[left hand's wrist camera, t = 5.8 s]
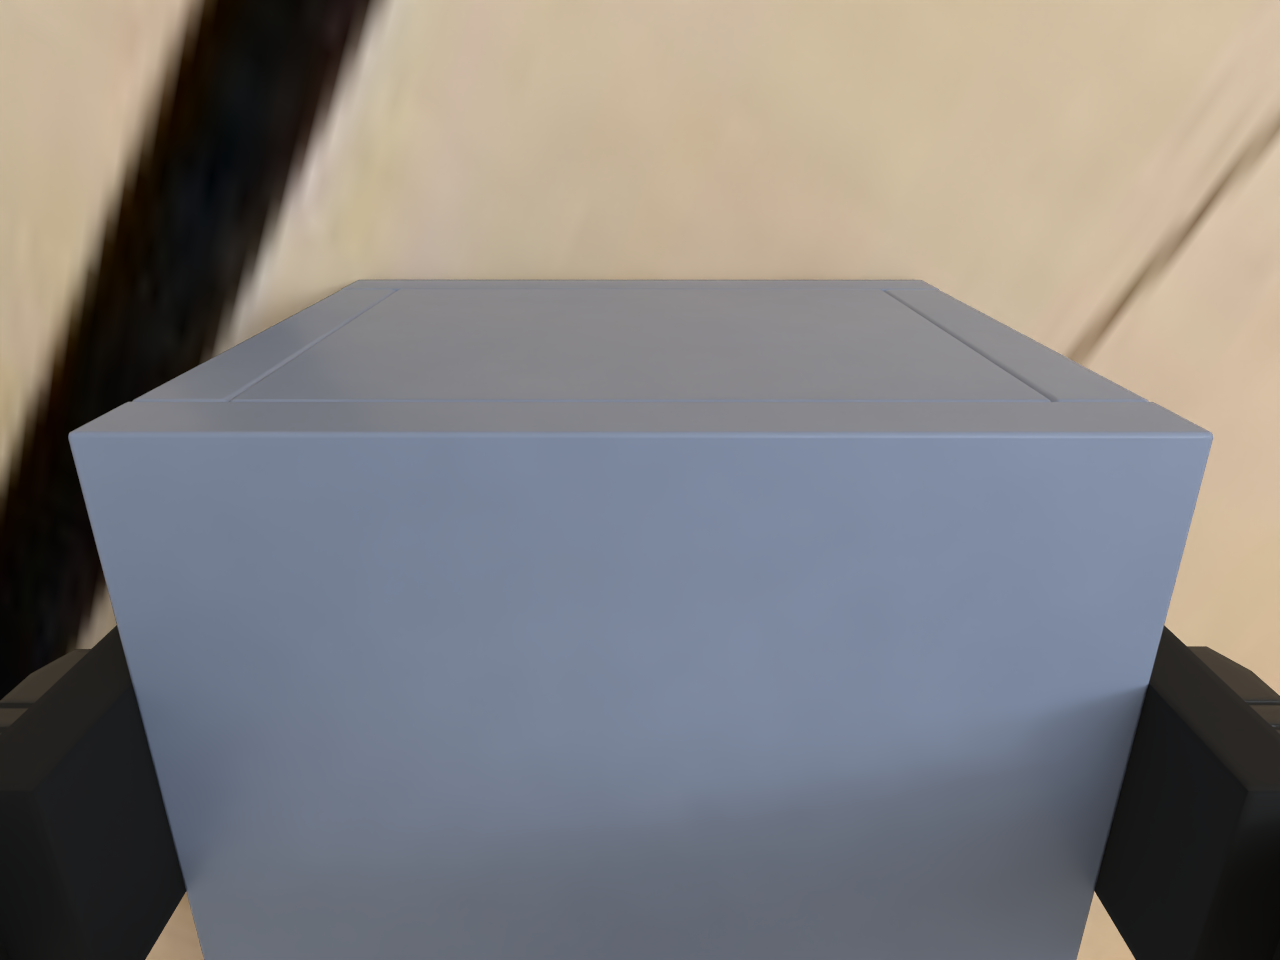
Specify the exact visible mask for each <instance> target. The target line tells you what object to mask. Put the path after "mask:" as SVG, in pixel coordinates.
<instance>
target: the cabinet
mask: <svg viewBox="0 0 1280 960" xmlns="http://www.w3.org/2000/svg"><path fill="white" fill-rule="evenodd" d="M68 438H69V442H70V446H71V450H72V454H73V458H74V461H75V465H76V469H77V473H78V477H79V481H80V485H81V488H82V492H83V496H84V500H85V504H86V508H87V511H88V515H89V519H90V523H91V527H92V531H93V534H94V538H95V542H96V546H97V550H98V554H99V557H100V561H101V565H102V569H103V573H104V577H105V580H106V584H107V588H108V592H109V596H110V600H111V604H112V607H113V611H114V615H115V619H116V623H117V627H118V630H119V634H120V638H121V642H122V646H123V650H124V653H125V657H126V661H127V665H128V669H129V673H130V676H131V680H132V684H133V688H134V692H135V696H136V699H137V703H138V707H139V711H140V715H141V719H142V723H143V726H144V730H145V734H146V738H147V742H148V746H149V749H150V753H151V757H152V761H153V765H154V769H155V772H156V776H157V780H158V784H159V788H160V792H161V795H162V799H163V803H164V807H165V811H166V815H167V819H168V822H169V826H170V830H171V834H172V838H173V842H174V845H175V849H176V853H177V857H178V861H179V865H180V868H181V872H182V876H183V880H184V884H185V888H186V891H187V895H188V899H189V903H190V907H191V911H192V914H193V918H194V922H195V926H196V930H197V934H198V938H199V941H200V945H201V949H202V953H203V957H204V960H1076V959H1077V955H1078V952H1079V948H1080V944H1081V940H1082V936H1083V932H1084V929H1085V925H1086V921H1087V917H1088V913H1089V910H1090V906H1091V902H1092V898H1093V894H1094V890H1095V887H1096V883H1097V879H1098V875H1099V871H1100V868H1101V864H1102V860H1103V856H1104V852H1105V848H1106V845H1107V841H1108V837H1109V833H1110V829H1111V826H1112V822H1113V818H1114V814H1115V810H1116V806H1117V803H1118V799H1119V795H1120V791H1121V787H1122V784H1123V780H1124V776H1125V772H1126V768H1127V764H1128V761H1129V757H1130V753H1131V749H1132V745H1133V742H1134V738H1135V734H1136V730H1137V726H1138V722H1139V719H1140V715H1141V711H1142V707H1143V703H1144V700H1145V696H1146V692H1147V688H1148V684H1149V680H1150V677H1151V673H1152V669H1153V665H1154V661H1155V658H1156V654H1157V650H1158V646H1159V642H1160V638H1161V635H1162V631H1163V627H1164V623H1165V619H1166V616H1167V612H1168V608H1169V604H1170V600H1171V596H1172V593H1173V589H1174V585H1175V581H1176V577H1177V574H1178V570H1179V566H1180V562H1181V558H1182V554H1183V551H1184V547H1185V543H1186V539H1187V535H1188V532H1189V528H1190V524H1191V520H1192V516H1193V512H1194V509H1195V505H1196V501H1197V497H1198V493H1199V490H1200V486H1201V482H1202V478H1203V474H1204V470H1205V467H1206V463H1207V459H1208V455H1209V451H1210V448H1211V444H1212V440H1213V435H1212V433H1211V432H1209V431H1207V430H1205V429H1203V428H1202V427H1200V426H1198V425H1196V424H1194V423H1192V422H1190V421H1188V420H1186V419H1184V418H1183V417H1181V416H1179V415H1177V414H1175V413H1173V412H1171V411H1169V410H1167V409H1165V408H1164V407H1162V406H1160V405H1158V404H1156V403H1154V402H1148V400H1146V399H1144V398H1142V397H1140V396H1139V395H1137V394H1135V393H1133V392H1131V391H1129V390H1127V389H1125V388H1123V387H1121V386H1120V385H1118V384H1116V383H1114V382H1112V381H1110V380H1108V379H1106V378H1104V377H1103V376H1101V375H1099V374H1097V373H1095V372H1093V371H1091V370H1089V369H1087V368H1086V367H1084V366H1082V365H1080V364H1078V363H1076V362H1074V361H1072V360H1070V359H1069V358H1067V357H1065V356H1063V355H1061V354H1059V353H1057V352H1055V351H1053V350H1051V349H1050V348H1048V347H1046V346H1044V345H1042V344H1040V343H1038V342H1036V341H1034V340H1033V339H1031V338H1029V337H1027V336H1025V335H1023V334H1021V333H1019V332H1017V331H1016V330H1014V329H1012V328H1010V327H1008V326H1006V325H1004V324H1002V323H1000V322H999V321H997V320H995V319H993V318H991V317H989V316H987V315H985V314H983V313H982V312H980V311H978V310H976V309H974V308H972V307H970V306H968V305H966V304H964V303H963V302H961V301H959V300H957V299H955V298H953V297H951V296H949V295H947V294H946V293H944V292H942V291H940V290H939V289H937V288H935V287H934V286H932V285H930V284H928V283H926V282H924V281H922V280H358V281H356V282H354V283H352V284H350V285H348V286H346V287H345V288H343V289H341V290H340V291H338V292H336V293H334V294H332V295H331V296H329V297H327V298H325V299H323V300H321V301H319V302H317V303H316V304H314V305H312V306H310V307H308V308H306V309H304V310H302V311H300V312H299V313H297V314H295V315H293V316H291V317H289V318H287V319H285V320H283V321H282V322H280V323H278V324H276V325H274V326H272V327H270V328H268V329H266V330H265V331H263V332H261V333H259V334H257V335H255V336H253V337H251V338H250V339H248V340H246V341H244V342H242V343H240V344H238V345H236V346H234V347H233V348H231V349H229V350H227V351H225V352H223V353H221V354H219V355H217V356H216V357H214V358H212V359H210V360H208V361H206V362H204V363H202V364H201V365H199V366H197V367H195V368H193V369H191V370H189V371H187V372H185V373H184V374H182V375H180V376H178V377H176V378H174V379H172V380H170V381H168V382H167V383H165V384H163V385H161V386H159V387H157V388H155V389H153V390H152V391H150V392H148V393H146V394H144V395H142V396H140V397H138V398H136V399H135V400H133V401H132V402H127V403H125V404H123V405H121V406H119V407H117V408H115V409H113V410H112V411H110V412H108V413H106V414H104V415H102V416H100V417H98V418H96V419H95V420H93V421H91V422H89V423H87V424H85V425H83V426H81V427H79V428H77V429H76V430H74V431H72V432H70V433H69V437H68Z"/></svg>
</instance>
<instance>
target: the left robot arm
mask: <svg viewBox="0 0 1280 960" xmlns="http://www.w3.org/2000/svg"><path fill="white" fill-rule="evenodd" d="M1094 891H1095V892H1096V894H1097V896H1098V897H1099V899H1100V901H1101V902H1102V904H1103V906H1104V907H1105V909H1106V911H1107V912H1108V914H1109V916H1110V917H1111V919H1112V921H1113V922H1114V924H1115V926H1116V927H1117V929H1118V931H1119V932H1120V934H1121V936H1122V937H1123V939H1124V941H1125V942H1126V944H1127V946H1128V947H1129V949H1130V951H1131V952H1132V954H1133V956H1134V957H1135V959H1136V960H1280V696H1279V695H1278V694H1277V693H1276V692H1275V691H1274V690H1272V689H1271V688H1270V687H1269V686H1268V685H1267V684H1266V683H1264V682H1263V681H1262V680H1261V679H1260V678H1259V677H1258V676H1256V675H1255V674H1254V673H1253V672H1252V671H1250V670H1249V669H1247V668H1245V667H1243V666H1241V665H1239V664H1238V663H1236V662H1234V661H1232V660H1230V659H1228V658H1227V657H1225V656H1223V655H1221V654H1219V653H1217V652H1216V651H1214V650H1212V649H1210V648H1208V647H1187V646H1186V645H1185V644H1183V643H1182V642H1181V641H1180V640H1179V639H1178V638H1177V637H1176V636H1175V635H1174V634H1173V633H1172V632H1171V631H1170V630H1169V629H1167V628H1166V627H1165V626H1164V627H1163V631H1162V635H1161V638H1160V642H1159V646H1158V650H1157V654H1156V658H1155V661H1154V665H1153V669H1152V673H1151V677H1150V680H1149V684H1148V688H1147V692H1146V696H1145V700H1144V703H1143V707H1142V711H1141V715H1140V719H1139V722H1138V726H1137V730H1136V734H1135V738H1134V742H1133V745H1132V749H1131V753H1130V757H1129V761H1128V764H1127V768H1126V772H1125V776H1124V780H1123V784H1122V787H1121V791H1120V795H1119V799H1118V803H1117V806H1116V810H1115V814H1114V818H1113V822H1112V826H1111V829H1110V833H1109V837H1108V841H1107V845H1106V848H1105V852H1104V856H1103V860H1102V864H1101V868H1100V871H1099V875H1098V879H1097V883H1096V887H1095V890H1094ZM185 892H186V888H185V884H184V880H183V876H182V872H181V868H180V865H179V861H178V857H177V853H176V849H175V845H174V842H173V838H172V834H171V830H170V826H169V822H168V819H167V815H166V811H165V807H164V803H163V799H162V795H161V792H160V788H159V784H158V780H157V776H156V772H155V769H154V765H153V761H152V757H151V753H150V749H149V746H148V742H147V738H146V734H145V730H144V726H143V723H142V719H141V715H140V711H139V707H138V703H137V699H136V696H135V692H134V688H133V684H132V680H131V676H130V673H129V669H128V665H127V661H126V657H125V653H124V650H123V646H122V642H121V638H120V634H119V630H118V627H117V626H116V627H115V628H113V629H112V630H111V631H110V632H109V633H108V634H107V635H106V636H105V637H104V638H103V639H102V640H101V641H100V642H99V643H97V644H96V645H95V646H94V647H93V648H92V649H75V650H73V651H71V652H70V653H68V654H66V655H64V656H62V657H60V658H59V659H57V660H55V661H53V662H51V663H50V664H48V665H46V666H44V667H42V668H40V669H39V670H37V671H35V672H33V673H31V674H30V675H29V676H28V677H27V678H25V679H24V680H23V681H22V682H21V683H20V684H19V685H18V686H16V687H15V688H14V689H13V690H12V691H11V692H10V693H8V694H7V695H6V696H5V697H4V698H3V699H2V700H1V701H0V960H145V959H146V957H147V956H148V954H149V952H150V951H151V949H152V947H153V946H154V944H155V942H156V941H157V939H158V937H159V936H160V934H161V932H162V931H163V929H164V927H165V926H166V924H167V922H168V921H169V919H170V917H171V916H172V914H173V912H174V911H175V909H176V907H177V906H178V904H179V902H180V901H181V899H182V897H183V896H184V894H185Z"/></svg>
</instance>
